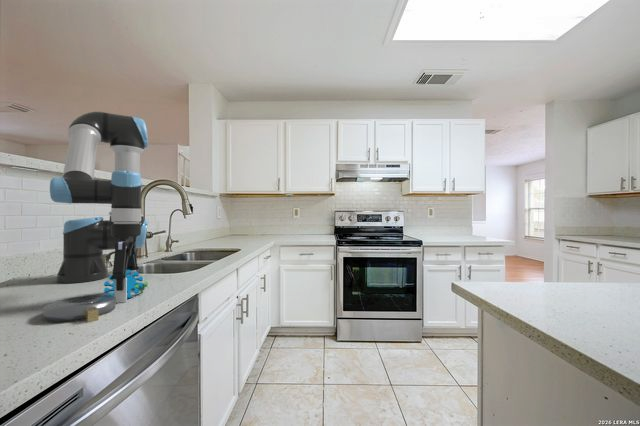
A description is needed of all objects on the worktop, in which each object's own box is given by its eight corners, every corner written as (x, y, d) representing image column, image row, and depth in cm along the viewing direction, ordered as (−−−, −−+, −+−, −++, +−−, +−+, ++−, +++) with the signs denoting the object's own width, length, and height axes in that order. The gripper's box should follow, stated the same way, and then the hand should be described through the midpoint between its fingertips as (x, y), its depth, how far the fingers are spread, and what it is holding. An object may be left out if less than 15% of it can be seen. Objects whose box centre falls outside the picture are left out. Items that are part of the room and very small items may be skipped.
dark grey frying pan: (37, 313, 72) (38, 303, 72) (105, 300, 83) (105, 291, 83) (52, 330, 62) (52, 318, 62) (127, 313, 73) (127, 303, 73)
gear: (97, 296, 81) (110, 267, 88) (100, 307, 85) (112, 278, 92) (142, 298, 85) (151, 270, 92) (143, 308, 89) (151, 280, 96)
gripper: (121, 222, 97) (121, 287, 96) (97, 224, 75) (97, 309, 75) (147, 221, 99) (147, 285, 99) (131, 224, 77) (131, 306, 77)
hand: (125, 296), depth 87 cm, fingers open, 11 cm apart
